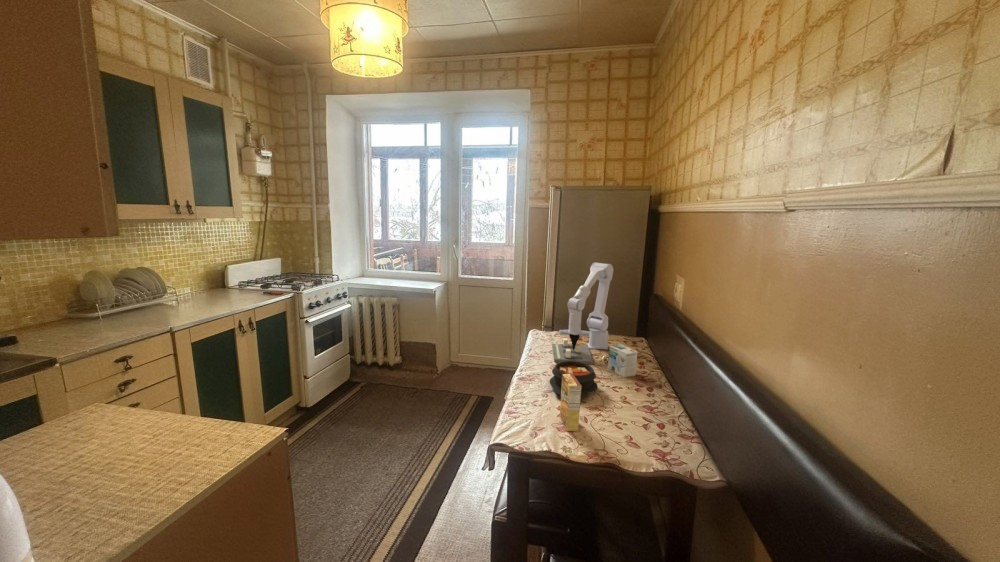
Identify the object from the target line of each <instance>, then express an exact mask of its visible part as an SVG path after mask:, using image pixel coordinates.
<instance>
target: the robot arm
mask: <svg viewBox="0 0 1000 562" xmlns="http://www.w3.org/2000/svg"><path fill="white" fill-rule="evenodd" d="M589 272H590V273H589V275H588V276H587V278H586V280H585V283H584V284H582V285H580V286H579V288H578V289H577V291H576V292H575V294H574V295H573V296H572V297H571V298H569V299H568V301H567V304H566V305H567V309H568V313H569V315H568V329H559V331H558V335H559V336H562V335H564V336H565V335H568V336H569V338H570V341H571V345H572V346H573V347H572V349H573V350H574V349H575V345H576V343H578V341H579V340H580V336H582V337H583V336H585V337H588V338H589V339H588V340H589V342H587V344H586V345H587V346H588V348H589V350H591V349H593V350H594V349H595V350H609V331H608V330H607V329H608V327H609V316H608V315H607V314H606V313H605V312H606V306H607V299H608V294H609V289H610V284H611V281H612V280H613V275H614V267H613V265H612V264H611V263H601V262H596V261H595V262H594V261H593V263H592V264H591V266H590V267H589ZM597 280H598V288H597V293H596V299H595V304H594V309H593V311H592V312H590V313H589V314H588V318H587V319H586V326H587V328H588V330H589V331H588V330H582V329H581V328H582V316H583V315H582V313H583V312H582V311H583V310H584V309H585V306H586V302H587V299H588V297H589V295H590V294H591V291H592V290H591V288H592V287H593V286H594V285H595V283H596V281H597Z"/></svg>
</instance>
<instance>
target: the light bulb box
mask: <svg viewBox="0 0 1000 562" xmlns="http://www.w3.org/2000/svg"><path fill="white" fill-rule="evenodd" d="M608 350H609V351H608V363H607V369H608V370H610V371H612V372H614V373H616V374H617V375H619V376H621V377H622V378H627V377H628V378H629V377H634V376H636V374H637V363H638V362H637V361H638V350H635V349H632V348H630V347H628V346H626V345H624V344H622V343H619V344H614V345H609V348H608Z"/></svg>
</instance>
